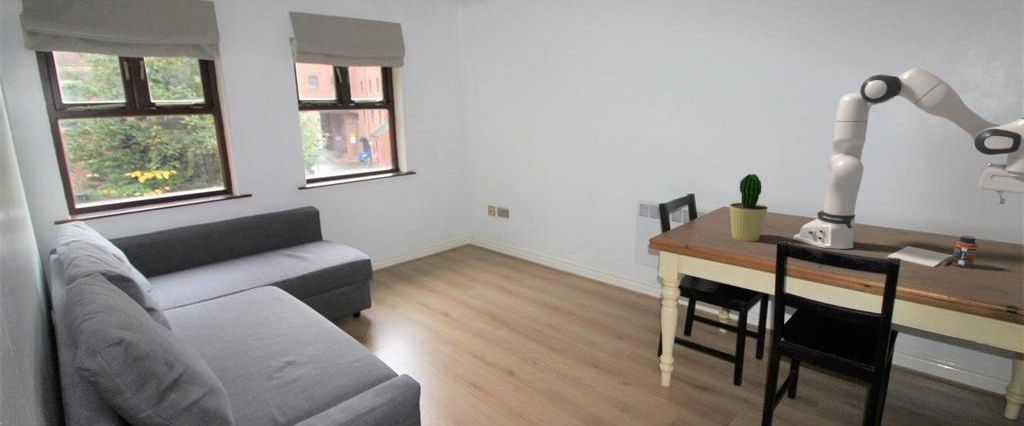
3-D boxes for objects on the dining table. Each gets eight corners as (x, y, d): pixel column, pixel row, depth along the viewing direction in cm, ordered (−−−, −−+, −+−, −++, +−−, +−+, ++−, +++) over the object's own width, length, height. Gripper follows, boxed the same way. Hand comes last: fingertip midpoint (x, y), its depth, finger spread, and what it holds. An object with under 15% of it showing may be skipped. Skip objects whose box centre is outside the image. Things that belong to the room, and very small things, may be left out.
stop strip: (939, 264, 183) (939, 262, 183) (949, 258, 190) (950, 256, 190) (944, 266, 182) (944, 263, 182) (954, 259, 189) (955, 257, 188)
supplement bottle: (964, 268, 179) (971, 239, 176) (947, 263, 185) (953, 235, 182) (976, 267, 181) (983, 238, 178) (958, 262, 186) (964, 234, 183)
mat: (887, 257, 193) (887, 256, 193) (908, 247, 205) (908, 246, 205) (933, 267, 181) (933, 266, 181) (952, 256, 193) (952, 255, 193)
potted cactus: (756, 233, 227) (763, 170, 220) (769, 242, 212) (777, 175, 205) (722, 232, 229) (728, 170, 222) (733, 242, 214) (740, 175, 207)
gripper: (980, 163, 172) (971, 201, 175) (1065, 170, 156) (1054, 212, 159) (985, 162, 175) (977, 199, 179) (1069, 168, 159) (1058, 209, 162)
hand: (1014, 205), depth 169 cm, fingers open, 5 cm apart
